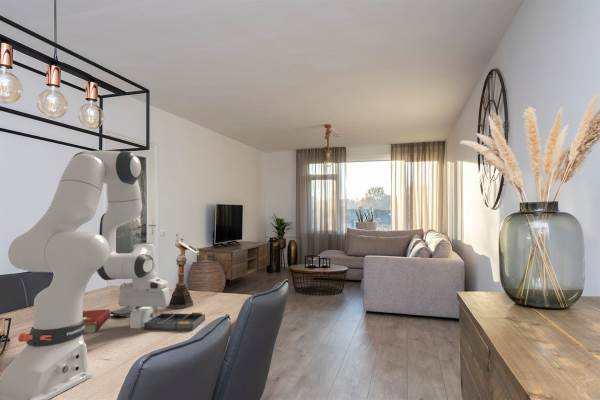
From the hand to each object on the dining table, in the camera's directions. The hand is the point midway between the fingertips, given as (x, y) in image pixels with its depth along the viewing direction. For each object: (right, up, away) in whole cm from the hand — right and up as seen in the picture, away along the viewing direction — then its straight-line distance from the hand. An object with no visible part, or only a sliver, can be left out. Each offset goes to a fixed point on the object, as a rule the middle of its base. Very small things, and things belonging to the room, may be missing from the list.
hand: (144, 317), depth 140 cm
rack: (+13, -2, -1) cm, 14 cm away
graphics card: (-13, -4, +17) cm, 22 cm away
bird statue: (+7, -4, +30) cm, 31 cm away
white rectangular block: (-1, -3, 0) cm, 3 cm away
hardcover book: (-22, -3, -1) cm, 22 cm away
